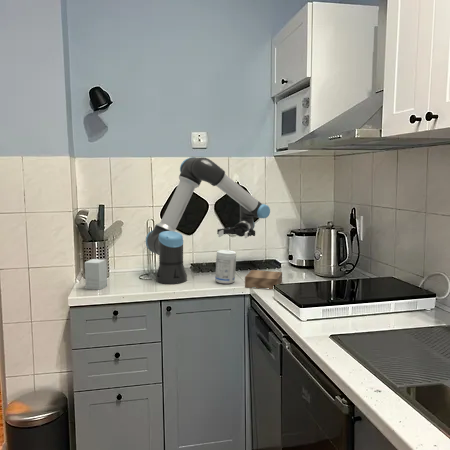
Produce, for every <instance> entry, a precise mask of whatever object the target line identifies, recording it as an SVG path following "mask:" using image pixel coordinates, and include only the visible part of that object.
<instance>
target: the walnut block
mask: <svg viewBox="0 0 450 450" xmlns="http://www.w3.org/2000/svg"><path fill="white" fill-rule="evenodd" d="M282 283H283V271H272V270H257V269H256V270H255V269H252V270H250V271H249V272H248V273H247V274H246V275H245V276H244V287H245V288H249V289H253V288H252V287H256V288H255V289H259V288H269V289H268V290H271V289H273V286H274V285H277V284H282Z"/></svg>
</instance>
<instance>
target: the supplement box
mask: <svg viewBox="0 0 450 450" xmlns="http://www.w3.org/2000/svg"><path fill="white" fill-rule="evenodd" d="M107 267H108V266H107V259H100V258H99V259H98V258H92V259H89V260H87V261H85V262H84V278H85V290H97V291H99V290H102V289H104V288H107V287H108V274H107V273H108V272H107V271H108V270H107Z"/></svg>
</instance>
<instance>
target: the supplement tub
mask: <svg viewBox="0 0 450 450" xmlns="http://www.w3.org/2000/svg"><path fill="white" fill-rule="evenodd" d="M215 257H216V259H215V273H214V274H215V277H214V280H215V281H216V283H220V284H232V283H234V282H235V280H236V264H237V252H236V251H234V250H229V249H219V250H217V251H216V256H215Z"/></svg>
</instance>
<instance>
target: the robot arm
mask: <svg viewBox="0 0 450 450" xmlns="http://www.w3.org/2000/svg"><path fill="white" fill-rule="evenodd" d="M179 171H180V174H179V175H178V179H179V182H178V184H177V186H176V189H175V191H174V193H173V195H172V196H171V199H170V201H169V203H168V205H167V208H166V210H165V212H164V213H163V215H162V218H161V220H160V222H159V223H157V224H155V226H154V228H153V230H151V231H149V232H148V233H147V234H146V237H145V245H146V247H147V249H148V250H149V251H150V252H151V253H153V254H155V255H158V259H159V260H158V261H159V263H158V268H157V271H156V274H155V281H156V282H157V283H159V284H165V285H166V284H167V285H174V284H181V283H182V284H183V283H185V282H187V281H188V274H187V272H186V269H185V265H184V237H183V234H182V233H180V232H178V231H176V229H177V227H178V225H179V222H180V221H181V219H182V217H183V214H184V212H185V210H186V208H187V205H188V204H189V202H190V199H191V198H192V195H193V193H194V191H195V189H197V188H199V187H200V185H201V183H202V181H203V182H205V183H208V184H209V185H211V186H212V187H217V188H218V189H220V191H222V192H223V193H225V194H226V195H227V196H229V197H230V198H231V199H233V200H234V201H235V202H236V203H238V204H239V222H238V223H236V224H235V225H234V227H225V228H224V227H223V228H217V231H216V232H217V236H218V238H220V237H223V236H225V235H229V234H231V235H236V236H238V237H244V239H247V238H248V237H252V236H253V237H255V236H256V230H255V229H254V228H255V225H256V224H255V222H254V218H258V219H267V218H268V217H269V216H270V215H271V214H270V213H271V208H270V207H269V205H267V204H265V203H262V202H261V201H259V200H258V199H257V198H255V196H253V195H251V194H250V193H249V192H248V191H247V190H245V189H244V188H243V187H242V186H241V185H240V184H239V183H237V182H235V180H233V179H232V178H231V177H230V176H228V175H227V174H226V171H225V170H224V169H223V168H221V167H220V166H219V165H218V164H217V163H215V162H214V161H213V160H211V159H209V158H206V157H193V156H192V157H187V158H186V159H184V160H183V161H182V162H181V164H180V166H179Z"/></svg>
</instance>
